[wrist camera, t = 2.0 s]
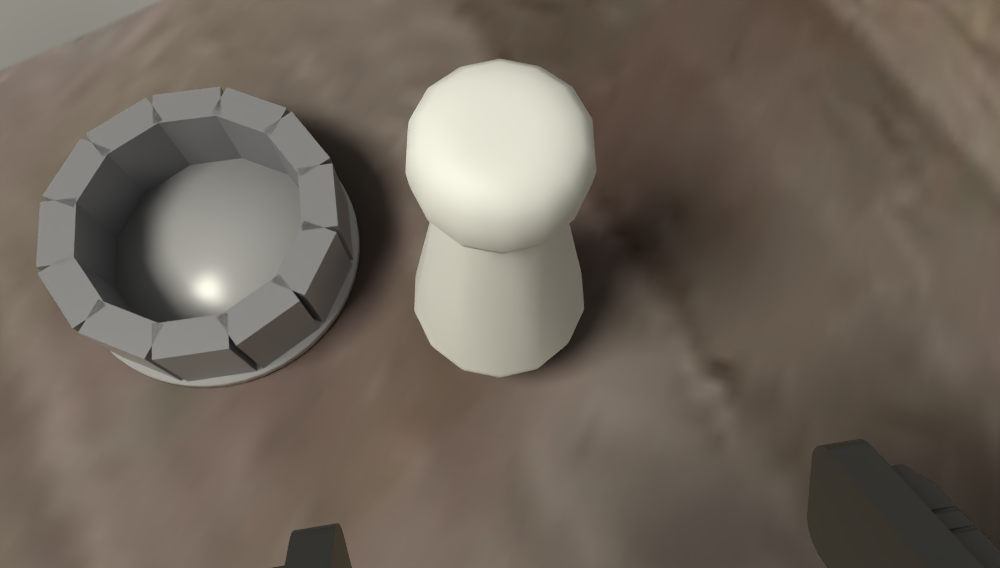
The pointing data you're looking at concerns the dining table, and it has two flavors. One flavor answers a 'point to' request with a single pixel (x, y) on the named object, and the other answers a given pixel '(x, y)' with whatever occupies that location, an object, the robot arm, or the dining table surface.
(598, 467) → the dining table surface
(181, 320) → the bowl
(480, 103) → the salt shaker
